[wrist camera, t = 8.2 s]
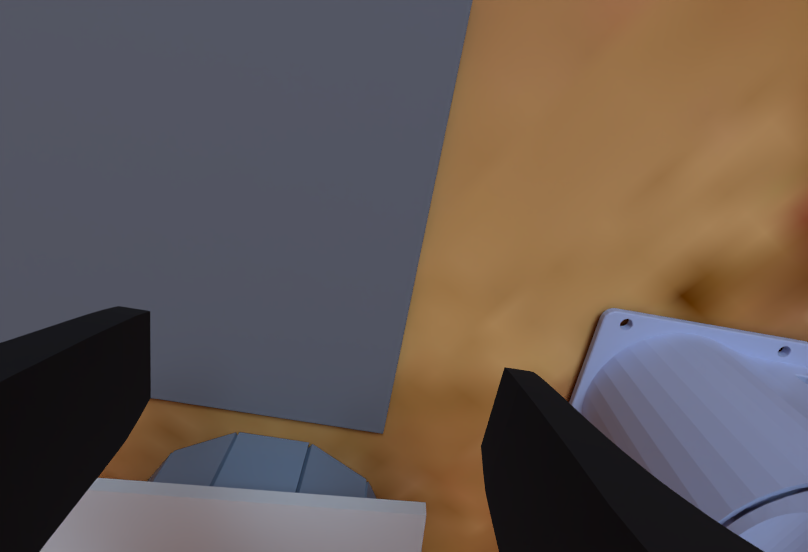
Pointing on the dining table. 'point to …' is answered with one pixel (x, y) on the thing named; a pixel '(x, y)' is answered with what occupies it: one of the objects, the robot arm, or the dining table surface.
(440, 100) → the mat
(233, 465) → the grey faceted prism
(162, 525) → the lid
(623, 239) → the dining table surface
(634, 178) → the dining table surface
